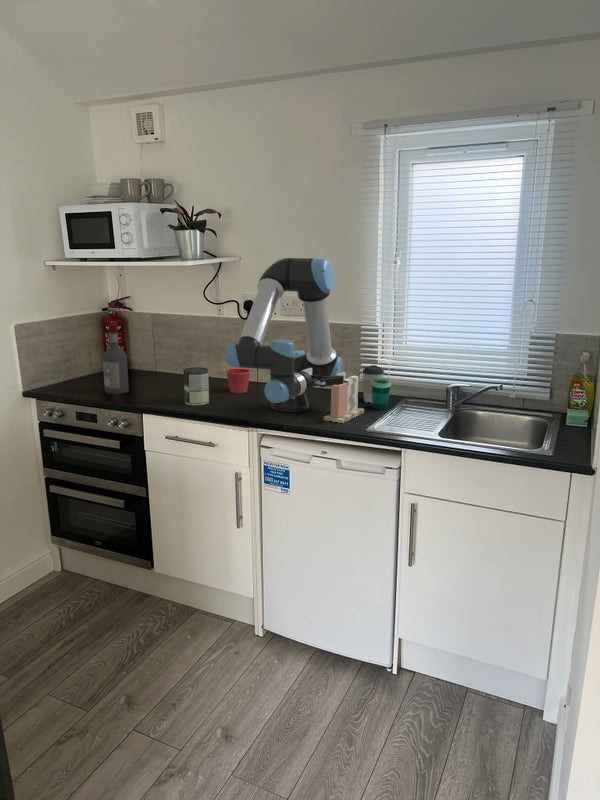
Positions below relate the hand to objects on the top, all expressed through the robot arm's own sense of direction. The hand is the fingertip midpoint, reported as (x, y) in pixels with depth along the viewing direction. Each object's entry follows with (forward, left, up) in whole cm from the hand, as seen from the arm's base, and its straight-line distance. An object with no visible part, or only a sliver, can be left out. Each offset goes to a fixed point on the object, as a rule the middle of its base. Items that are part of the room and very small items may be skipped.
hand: (327, 373), depth 222 cm
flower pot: (-38, +53, -20) cm, 68 cm away
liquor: (-92, +48, -20) cm, 106 cm away
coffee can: (-53, +32, -20) cm, 65 cm away
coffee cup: (+21, +38, -20) cm, 48 cm away
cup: (+23, +26, -20) cm, 40 cm away
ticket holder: (+7, +12, -20) cm, 24 cm away
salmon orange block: (+5, +8, -18) cm, 20 cm away
